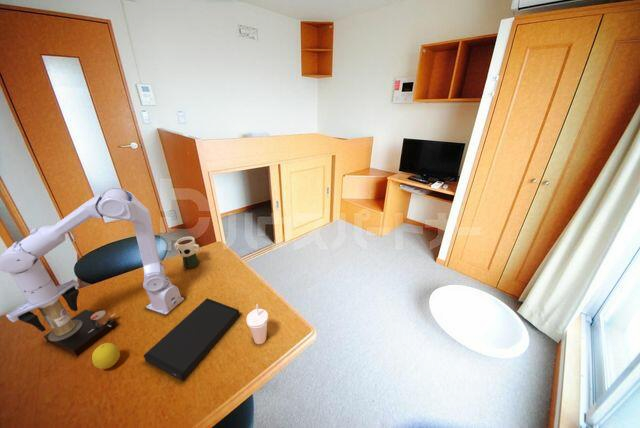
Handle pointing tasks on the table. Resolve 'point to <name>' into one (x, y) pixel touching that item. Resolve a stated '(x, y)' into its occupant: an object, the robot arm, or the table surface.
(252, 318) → the smoothie
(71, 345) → the hob
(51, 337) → the burner
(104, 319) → the cupcake
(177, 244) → the character mug
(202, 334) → the external hard drive
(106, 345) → the lemon
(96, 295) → the table surface
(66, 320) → the sprinkles bottle
